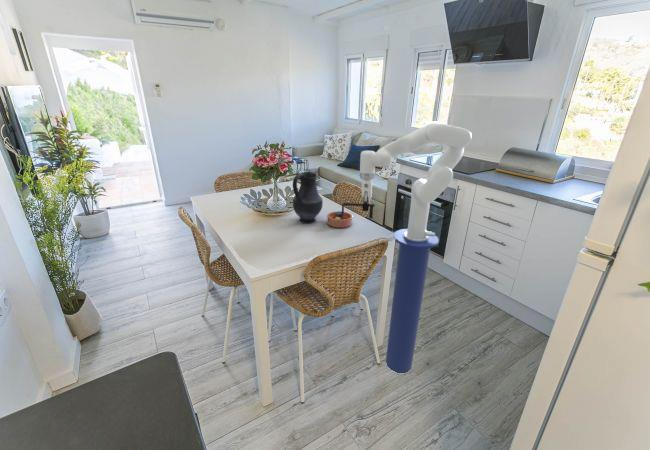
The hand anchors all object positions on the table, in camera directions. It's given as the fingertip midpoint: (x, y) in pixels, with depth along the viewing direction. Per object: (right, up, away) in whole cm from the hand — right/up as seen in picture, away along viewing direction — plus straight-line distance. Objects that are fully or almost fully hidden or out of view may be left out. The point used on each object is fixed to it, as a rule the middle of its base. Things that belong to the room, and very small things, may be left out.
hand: (365, 210), depth 165 cm
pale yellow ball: (-14, -4, +22) cm, 26 cm away
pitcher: (-33, -6, +22) cm, 40 cm away
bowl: (-13, -7, +20) cm, 25 cm away
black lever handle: (-6, -4, +3) cm, 7 cm away
